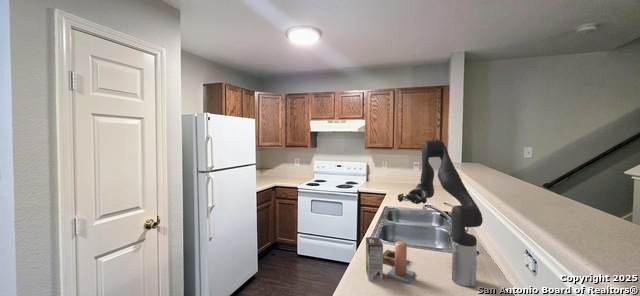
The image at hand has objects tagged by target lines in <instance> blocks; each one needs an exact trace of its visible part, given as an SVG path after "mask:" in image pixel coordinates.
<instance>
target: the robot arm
mask: <svg viewBox="0 0 640 296" xmlns="http://www.w3.org/2000/svg"><path fill="white" fill-rule="evenodd" d="M431 158H432V159H433V158H439V159H440V161H441V163H440V165H439V167H438V170H437V178H438V180H439V183H440V186H441V188H442V189H443V190H444V191H446V193H448V194H449V195H450V196H451V197H453V198H455V199H456V200H457V201H458V202H459V203H460V205H454V206H453V207H452V208H451V212H450V214H451V215H450V217H451V218H450V220H451V221H450V222H451V236H452V246H451V247H452V249H451V250H452V253H451V258H452V259H451V280H452V281H453V282H454V283H455V284H457V285H460V286H463V287H472V288H475V287H476V284H477V269H478V268H477V267H478V266H477V265H478V264H477V263H478V260H477V242H478V239H477V237H476V236H475V235H473V234H471V233H469V232H466V228H479V227H481V226H482V224H483V215H482V212H481V210H480V208H479V207H478V205H477V204H476V202H475V200H474V199H473V197H472V196H471V194H470V193H469V191H468V189H467V188H466V186H465V184H464V182H463V180H462V177H461V176H460V175H459V172H458V171H457V169H456V167H455V165H454V164H453V161H452V159H451V157H450V155H449V151H448V149H447V147H446V145H445V143H444V141H443V140H440V139H434V140H425V141H424V142H422V146H421V173H420V174H421V176H420V180H419V181H420V183H418V184H416V187H415V188H413V189H412V190H410V191H409V192H408V194H407V193H406V194H405V193H400V194H398V195H397V200H398V202H400V203H401V202H403V201H404V202H410V203H412V204H416V205H419V204H424V205H425V204H426V203H428V199H431V198H432V197H433V196H434V194H435V187H434V180H435V169H434V168H433V167H432V165H431V163H430V162H429V161H430V159H431Z"/></svg>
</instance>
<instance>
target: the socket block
mask: <svg viewBox="0 0 640 296" xmlns="http://www.w3.org/2000/svg"><path fill="white" fill-rule="evenodd" d="M383 264H384V265H388V266H391V267H394V266H395V250H391V249H390V250H389V249H386V250H385V251H383Z"/></svg>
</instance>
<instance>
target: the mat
mask: <svg viewBox="0 0 640 296" xmlns="http://www.w3.org/2000/svg"><path fill="white" fill-rule="evenodd" d="M415 276H416V272H415V271H412V270H408V269H406V276H404V277H400V276H397V275H395V266H392V268H391V269H390V270H389V271H388V272H387V273H386V274H385V277H386V278H387V279H391V280H393V281H397V282H401V283H404V284H407V285H409V284H410V282H411V281H412V280H413V278H414V277H415Z"/></svg>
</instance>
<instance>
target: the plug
mask: <svg viewBox="0 0 640 296" xmlns="http://www.w3.org/2000/svg"><path fill="white" fill-rule="evenodd" d="M407 245H408V244H407V242H405V241H401V240H397V241H395V242H394V251H395V275H397V276H400V277H404V276H406V270H407V257H408V256H407V255H408V253H407V252H408V249H407V247H408V246H407Z"/></svg>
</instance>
